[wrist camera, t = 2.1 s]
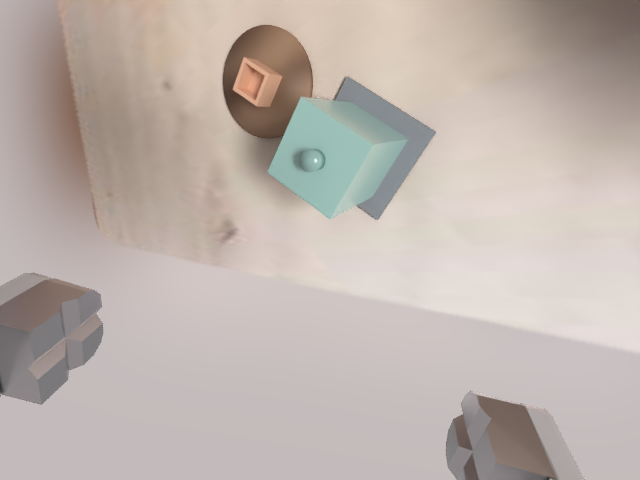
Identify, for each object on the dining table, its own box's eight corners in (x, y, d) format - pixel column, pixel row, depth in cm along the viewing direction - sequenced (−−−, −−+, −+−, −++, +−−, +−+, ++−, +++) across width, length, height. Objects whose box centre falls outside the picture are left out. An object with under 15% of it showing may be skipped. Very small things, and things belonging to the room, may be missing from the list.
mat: (304, 165, 41) (302, 166, 40) (348, 76, 36) (346, 76, 35) (378, 219, 38) (377, 219, 38) (436, 132, 34) (435, 132, 33)
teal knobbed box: (321, 161, 39) (258, 174, 30) (352, 102, 36) (292, 95, 26) (372, 196, 38) (323, 222, 28) (408, 138, 34) (367, 145, 25)
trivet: (212, 63, 42) (208, 62, 42) (285, 2, 37) (282, 0, 36) (252, 153, 43) (248, 154, 43) (329, 108, 38) (326, 108, 37)
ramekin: (246, 91, 41) (232, 89, 39) (258, 60, 39) (243, 56, 37) (270, 107, 40) (256, 106, 38) (282, 76, 38) (269, 73, 36)
